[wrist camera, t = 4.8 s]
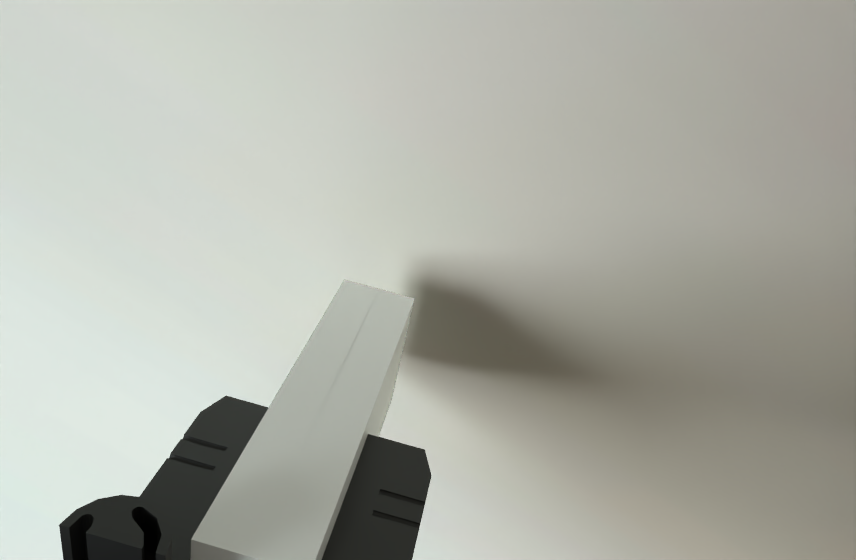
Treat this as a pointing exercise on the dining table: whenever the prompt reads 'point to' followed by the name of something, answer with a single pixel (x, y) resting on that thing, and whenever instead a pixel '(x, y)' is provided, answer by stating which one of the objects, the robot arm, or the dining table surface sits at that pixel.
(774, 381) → the dining table surface
